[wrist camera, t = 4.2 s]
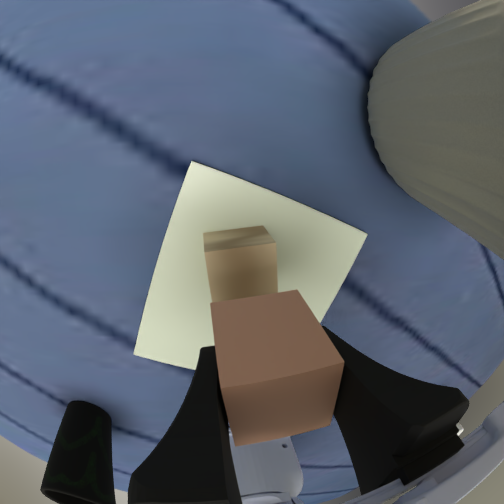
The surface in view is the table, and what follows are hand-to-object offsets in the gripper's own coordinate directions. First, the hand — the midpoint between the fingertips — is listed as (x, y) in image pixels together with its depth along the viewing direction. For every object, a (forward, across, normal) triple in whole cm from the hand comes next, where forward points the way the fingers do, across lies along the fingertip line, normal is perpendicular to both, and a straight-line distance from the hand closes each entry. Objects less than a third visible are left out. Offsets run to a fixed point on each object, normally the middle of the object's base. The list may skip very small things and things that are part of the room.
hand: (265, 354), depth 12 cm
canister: (+10, -16, -10) cm, 22 cm away
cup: (+10, +19, +17) cm, 27 cm away
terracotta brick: (+2, 0, 0) cm, 2 cm away
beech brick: (+9, 0, -1) cm, 9 cm away
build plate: (+10, 0, +3) cm, 10 cm away
